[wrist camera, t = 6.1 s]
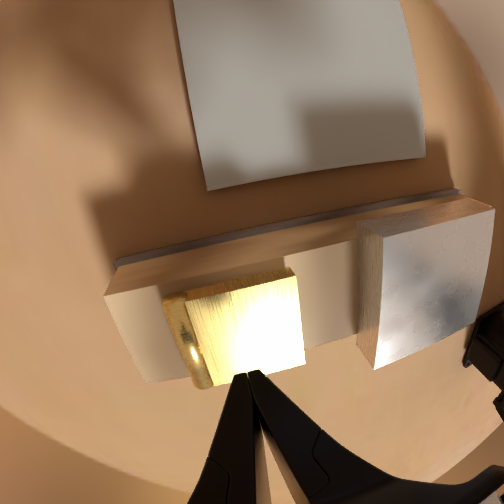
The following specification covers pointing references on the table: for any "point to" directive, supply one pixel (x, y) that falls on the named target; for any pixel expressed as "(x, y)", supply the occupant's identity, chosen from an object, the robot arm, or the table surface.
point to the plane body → (247, 264)
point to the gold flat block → (237, 326)
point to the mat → (298, 86)
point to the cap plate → (420, 276)
